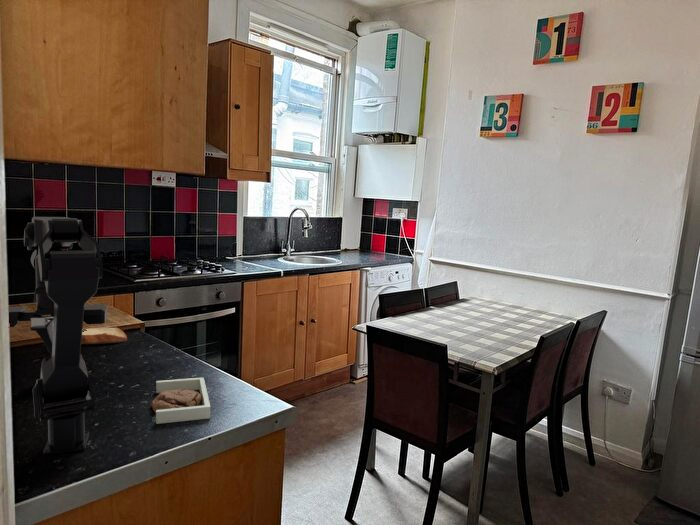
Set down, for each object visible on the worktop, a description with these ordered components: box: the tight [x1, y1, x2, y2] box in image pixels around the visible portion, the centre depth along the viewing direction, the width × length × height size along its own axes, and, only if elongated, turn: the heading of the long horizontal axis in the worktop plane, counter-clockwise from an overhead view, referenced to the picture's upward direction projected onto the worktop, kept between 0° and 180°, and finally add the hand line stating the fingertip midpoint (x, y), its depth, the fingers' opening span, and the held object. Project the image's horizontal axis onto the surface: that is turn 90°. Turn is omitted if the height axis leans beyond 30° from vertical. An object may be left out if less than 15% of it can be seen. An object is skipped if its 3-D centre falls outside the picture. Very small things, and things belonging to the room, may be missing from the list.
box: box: [155, 377, 211, 425], centre depth 110 cm, size 17×10×2 cm, turn 21°
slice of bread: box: [81, 326, 128, 345], centre depth 151 cm, size 18×18×4 cm
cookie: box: [150, 389, 203, 413], centre depth 109 cm, size 10×11×3 cm
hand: (55, 357), depth 101 cm, fingers closed
